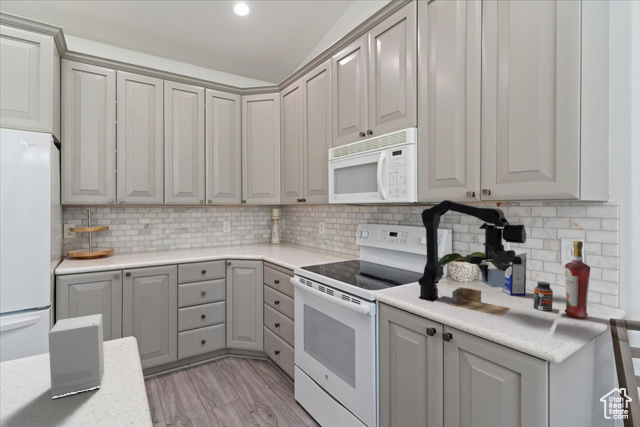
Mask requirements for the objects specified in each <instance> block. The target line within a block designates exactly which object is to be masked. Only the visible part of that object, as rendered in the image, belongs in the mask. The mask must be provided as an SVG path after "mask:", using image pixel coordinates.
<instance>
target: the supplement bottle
mask: <svg viewBox="0 0 640 427" xmlns="http://www.w3.org/2000/svg"><path fill="white" fill-rule="evenodd" d="M553 296H554V294H553V289H552V288H551V283H549V282H546V281H537V286H536V287H534V290H533V309H534V310H537V311H541V312H552V311H553V300H554V298H553Z"/></svg>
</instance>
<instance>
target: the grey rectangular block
mask: <svg viewBox="0 0 640 427" xmlns="http://www.w3.org/2000/svg"><path fill="white" fill-rule="evenodd" d="M487 272H488V280H487V282H485V280H484V277H483V275H482V274H481V282H482V283H483V284H485V285H487V286H488V287H491V288H502V289H503V288H505V271H503V270H500V269H498V268H497V267H496V266H488V268H487Z"/></svg>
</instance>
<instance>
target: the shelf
mask: <svg viewBox="0 0 640 427" xmlns="http://www.w3.org/2000/svg"><path fill="white" fill-rule="evenodd" d="M451 300H452V303H449V306H453V307H458V308H462V309H466V310H472V311H476V312H481V313H485V314H489V315H495V316H500V317H503V316H504V315H505V314H506V313H507V312H508V311H509V310H510V309H511V308H510V307H506V306H501V305H497V304H496V305H495V304H491V303H486V302H482V290H480V289H476V288H469V287H463V286H459V287H458V288H456V289H454V290H452V299H451Z"/></svg>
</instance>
